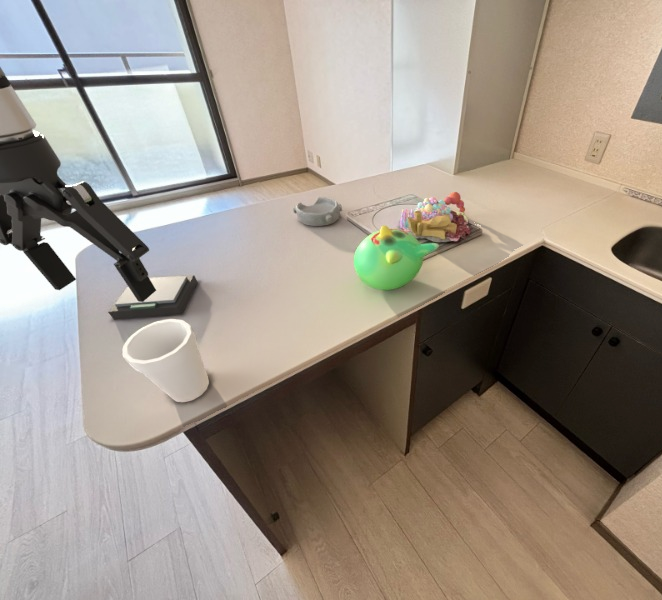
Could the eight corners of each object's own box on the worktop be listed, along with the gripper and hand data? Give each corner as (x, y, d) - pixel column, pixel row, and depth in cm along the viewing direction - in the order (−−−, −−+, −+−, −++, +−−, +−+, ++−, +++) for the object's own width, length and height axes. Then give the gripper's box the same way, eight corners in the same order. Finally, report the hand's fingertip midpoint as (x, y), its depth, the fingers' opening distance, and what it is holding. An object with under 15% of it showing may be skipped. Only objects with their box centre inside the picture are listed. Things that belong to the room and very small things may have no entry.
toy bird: (393, 256, 95) (394, 209, 85) (436, 282, 86) (443, 233, 76) (343, 281, 85) (338, 231, 76) (386, 313, 76) (387, 262, 67)
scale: (113, 319, 72) (105, 309, 70) (137, 286, 81) (131, 276, 79) (181, 314, 74) (175, 303, 72) (197, 282, 83) (193, 272, 81)
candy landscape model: (475, 246, 101) (480, 218, 94) (399, 244, 100) (400, 216, 94) (463, 210, 119) (467, 185, 113) (399, 208, 119) (400, 183, 113)
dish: (290, 221, 109) (287, 207, 106) (317, 206, 118) (315, 192, 115) (323, 232, 104) (321, 218, 101) (349, 216, 113) (348, 202, 110)
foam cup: (228, 381, 61) (203, 334, 52) (180, 419, 55) (143, 373, 46) (198, 359, 65) (169, 311, 56) (150, 393, 59) (110, 345, 50)
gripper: (127, 135, 36) (198, 285, 50) (-61, 119, 39) (56, 266, 52) (64, 156, 30) (164, 318, 44) (-152, 135, 33) (7, 295, 47)
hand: (106, 290), depth 48 cm, fingers open, 13 cm apart
